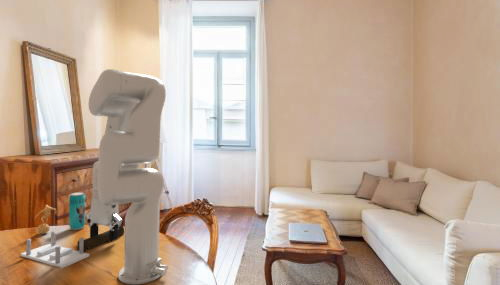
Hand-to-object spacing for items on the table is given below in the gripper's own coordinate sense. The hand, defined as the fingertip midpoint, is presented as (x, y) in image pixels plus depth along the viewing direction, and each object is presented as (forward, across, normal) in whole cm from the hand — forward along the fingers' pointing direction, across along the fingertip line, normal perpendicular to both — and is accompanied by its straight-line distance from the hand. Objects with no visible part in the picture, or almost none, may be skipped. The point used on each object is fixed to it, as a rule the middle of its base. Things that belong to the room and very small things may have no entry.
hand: (103, 238), depth 107 cm
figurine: (+2, +27, +4) cm, 27 cm away
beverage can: (+2, +22, -6) cm, 23 cm away
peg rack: (+1, +4, +16) cm, 16 cm away
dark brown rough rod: (+2, 0, 0) cm, 2 cm away
